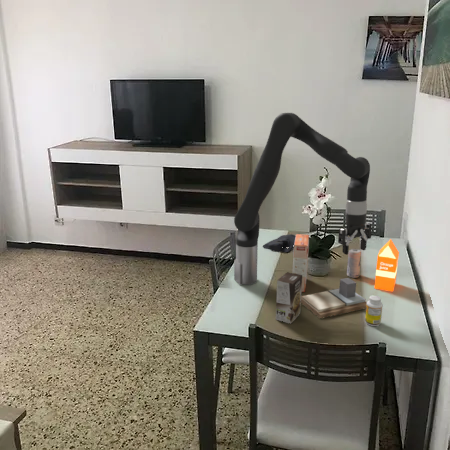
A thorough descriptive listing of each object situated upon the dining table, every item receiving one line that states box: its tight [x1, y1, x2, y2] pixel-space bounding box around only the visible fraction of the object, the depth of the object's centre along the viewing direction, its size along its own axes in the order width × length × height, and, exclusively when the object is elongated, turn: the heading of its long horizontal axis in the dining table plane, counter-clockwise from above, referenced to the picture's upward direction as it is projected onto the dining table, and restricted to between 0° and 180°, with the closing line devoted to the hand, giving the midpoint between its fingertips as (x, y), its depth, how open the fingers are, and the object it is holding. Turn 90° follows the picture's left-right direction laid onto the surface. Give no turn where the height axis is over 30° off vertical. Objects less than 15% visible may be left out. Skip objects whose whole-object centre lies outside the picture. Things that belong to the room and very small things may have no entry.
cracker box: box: [292, 233, 310, 293], centre depth 200 cm, size 14×6×21 cm, turn 168°
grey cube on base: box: [329, 277, 366, 306], centre depth 187 cm, size 9×12×7 cm
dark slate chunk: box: [262, 233, 296, 253], centre depth 249 cm, size 15×22×5 cm
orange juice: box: [374, 238, 400, 292], centre depth 198 cm, size 8×9×20 cm
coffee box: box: [275, 271, 302, 325], centre depth 175 cm, size 9×6×16 cm
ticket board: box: [301, 287, 367, 319], centre depth 186 cm, size 22×16×3 cm
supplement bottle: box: [364, 294, 384, 327], centre depth 171 cm, size 6×6×10 cm
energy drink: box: [346, 248, 362, 279], centre depth 210 cm, size 5×5×12 cm
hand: (354, 251), depth 182 cm, fingers open, 8 cm apart
